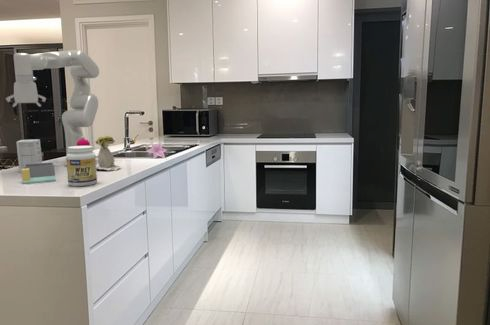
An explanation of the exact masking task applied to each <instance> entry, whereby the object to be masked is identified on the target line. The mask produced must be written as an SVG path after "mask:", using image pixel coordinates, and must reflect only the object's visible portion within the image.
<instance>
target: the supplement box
mask: <svg viewBox="0 0 490 325" xmlns="http://www.w3.org/2000/svg"><path fill="white" fill-rule="evenodd" d="M41 146H42V145H41V139H39V138H38V139H37V138H36V139H20V140H18V141H16V151H17V154H16V155H17V160H18V162H17V163H18V170H19V173H22V169H24V165H25V164H39V163H43V156H42V147H41Z"/></svg>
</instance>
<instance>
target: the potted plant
mask: <svg viewBox="0 0 490 325" xmlns="http://www.w3.org/2000/svg"><path fill="white" fill-rule="evenodd" d="M115 142H116V140H114V138H113V137H112V136H109V135H102V136H99V137H98V138H97V139H96V140H95V142H94V143H95V144H96V145H99V146H100V148H99V151H98V154H97V162H98V163H97V164H98V166H96V170H97V169H98V170H101V171H103V170H105V171H115V172H116V171H117V170H119V169H121V165H115V162H116V161H115V157H114V155H113V153H112V152H111V150H110V148H109V147H108V146H109V145H113V144H114V143H115Z"/></svg>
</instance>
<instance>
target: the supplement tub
mask: <svg viewBox="0 0 490 325" xmlns="http://www.w3.org/2000/svg"><path fill="white" fill-rule="evenodd" d="M68 152H69V153H68V154H67V153H66V157H65V159H66V163H67V166H66V172H67V183H68V186H72V187H86V186H88V185H89V186H92V185H94V184H96V183H97V182H98V177H97V176H98V175H97V169H96V167H97V159H96V154H95V152H94V147H93V145H90V146H72V147H68ZM89 186H88V187H89Z"/></svg>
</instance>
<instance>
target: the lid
mask: <svg viewBox="0 0 490 325" xmlns="http://www.w3.org/2000/svg"><path fill="white" fill-rule="evenodd" d="M21 179H22V183H21V184H22V185H25V184H26V185H27V186H28V185H29V186H30V185H31V184H38V185H39V184H42V183H50V184H51V182H56V181H57V179H56V175H55V176H45V177H34V178H30V170H29V168H26V169H22V172H21Z"/></svg>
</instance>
